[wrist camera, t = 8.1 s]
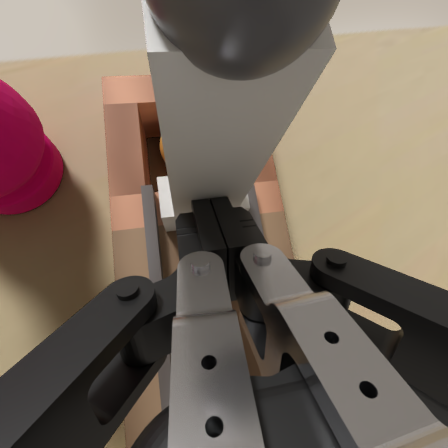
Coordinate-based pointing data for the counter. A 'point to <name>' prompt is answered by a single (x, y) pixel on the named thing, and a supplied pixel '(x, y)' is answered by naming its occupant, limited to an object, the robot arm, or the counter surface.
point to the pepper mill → (24, 156)
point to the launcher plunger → (229, 88)
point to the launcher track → (151, 217)
